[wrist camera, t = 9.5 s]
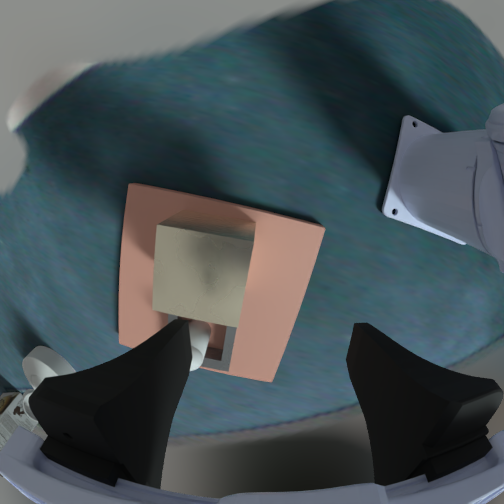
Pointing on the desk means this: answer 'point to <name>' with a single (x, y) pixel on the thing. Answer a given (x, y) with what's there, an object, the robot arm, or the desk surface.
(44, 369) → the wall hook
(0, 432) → the coffee box
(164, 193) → the keeper board
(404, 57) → the desk surface
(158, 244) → the beige block with handle
